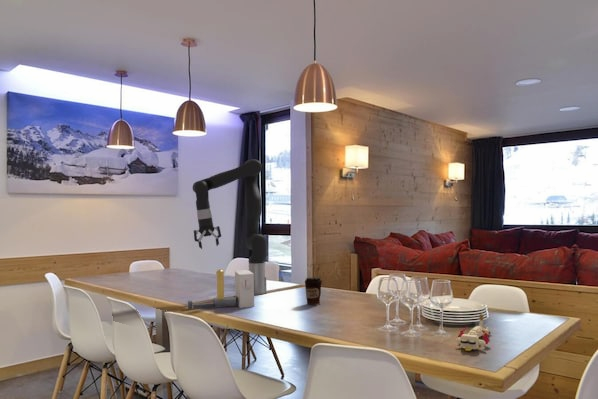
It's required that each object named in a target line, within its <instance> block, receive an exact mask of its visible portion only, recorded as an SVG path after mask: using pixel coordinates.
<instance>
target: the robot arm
mask: <svg viewBox="0 0 598 399" xmlns="http://www.w3.org/2000/svg"><path fill="white" fill-rule="evenodd" d="M262 166H263V165H262V163H261V162H260V161H259V160H258V159H254V158H253V159H248V160H246V161H244V163H243V164H242V165H240V166H237V167H235V168H233V169H229V170H226V171H223V172H220V173H217V174H214V175H212V176H211V175H210V176H209V177H207V178H204V179H200V180H198V181H195V182H194V183H193V184H192V191H193V192H194V193H195V198H196V200H195V205H196V206H195V207H196V215H197V217H196V218H197V223H198V229H194V230H193V238H194V242H198V247H199V249H201V250H203V245H202V240H203V238H204V237H210V236H213V237H214V238H215V246H216V247H218V246H219V245H220V242H219V238H222V234H221V228H220V226H219V225H218V226H214V223H213V215H212V211H211V207H210V206H211V204H210V200H209V195H210V194H209V191H210V190H211V191H212V190H214V189H217V188H221V187H224V186H226V185H228V184H230V183H233V182H235V181H237V180H240V179H243V180H244V202H245V203H244V204H245V207H244V208H245V220H246V221H245V225H246V228H245V230H246V231H245V245H246V247H247V248H248V249H249V250H251V255H250V256H249V258H248V270H249V271H250V272H252V273H253V274H254V296H255V295H256V296H257V295H265V294H267V293H268V292H267V289H268V288H267V276H266V257H267V240H266V237H265V236H264V235H263V234H261V233H260V234H259V222H260V219H261V215H262V213H263V212H262V210H263V206H262V204H263V203H262V202H263V201H262V196H261V193H260V189H259V187H258V175H259V174H260V173H261V172H262V168H263V167H262ZM214 231H217V234H218V235H217V234H216V233H214ZM198 233H199V234H200V236H199V238H198V236H197V235H198Z"/></svg>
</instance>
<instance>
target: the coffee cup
mask: <svg viewBox="0 0 598 399" xmlns="http://www.w3.org/2000/svg"><path fill="white" fill-rule="evenodd" d="M322 282H323V281H322V279H321V277H318V276H315V277H314V276H313V277H312V276H311V277H306V279H305V281H304V285H305V286H304V287H305V295H306V296H305V298H306V304H307V305H309V306H318V305H321V300H320V299H321V295H322Z"/></svg>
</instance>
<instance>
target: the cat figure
mask: <svg viewBox="0 0 598 399" xmlns="http://www.w3.org/2000/svg"><path fill="white" fill-rule="evenodd" d="M478 317H479V324H478V325H475V326H474V327H473V328H471V329H470V330H469V332H467V333H465V332H464V331H466V329H468V328H469V327H468V326H466V327H465V328H462V329H461V330H460V332H459V333H458V335H457V338H455V342H456V343H457V344H460V345H459V347H461V348H463V349H464V350H465V351H472V350H480V349H481V348H482V347H485V346H487V345H488V343H490V341H491V340H490V338H489V337H488V336H490V335H491V334H492V333H491V332H492V331H490V328H489V327H484V326H483V325H484V315H483V313H479V315H478ZM480 337H482V338H483V339H484V340H483V339H480ZM480 346H481V347H480Z"/></svg>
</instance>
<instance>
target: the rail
mask: <svg viewBox="0 0 598 399" xmlns="http://www.w3.org/2000/svg"><path fill="white" fill-rule="evenodd" d="M237 306H238V302H237V301H236V306H235V307H237ZM212 307H215V303H214V301H213V302H212V301H211V302H202V303H193V300H187V309H188V311H193V310H200V309H199V308H204V309H213V308H212ZM225 307H226V308H227V307H229V306H225ZM225 307H224V308H225ZM238 307H239V306H238ZM193 308H194V309H193ZM192 309H193V310H192Z"/></svg>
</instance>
